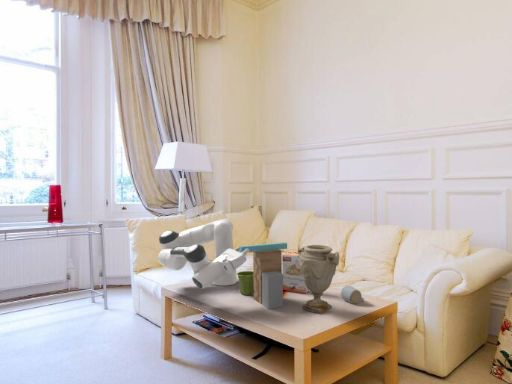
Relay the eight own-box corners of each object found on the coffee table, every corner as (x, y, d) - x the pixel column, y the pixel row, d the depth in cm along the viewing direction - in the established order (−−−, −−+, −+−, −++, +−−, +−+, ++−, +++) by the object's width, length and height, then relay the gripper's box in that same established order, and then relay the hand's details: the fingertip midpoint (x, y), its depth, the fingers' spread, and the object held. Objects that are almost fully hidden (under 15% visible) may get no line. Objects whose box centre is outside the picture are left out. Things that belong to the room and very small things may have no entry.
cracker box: (282, 291, 207) (281, 254, 207) (286, 288, 212) (286, 252, 212) (305, 294, 200) (305, 255, 200) (309, 291, 206) (309, 254, 205)
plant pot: (262, 293, 203) (262, 272, 203) (247, 298, 195) (247, 277, 194) (247, 289, 211) (247, 269, 211) (232, 293, 203) (232, 273, 202)
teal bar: (239, 252, 186) (239, 246, 186) (284, 247, 197) (284, 242, 197) (241, 253, 183) (241, 247, 183) (287, 248, 194) (287, 243, 194)
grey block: (262, 304, 183) (261, 272, 183) (276, 302, 187) (276, 271, 186) (268, 308, 177) (268, 275, 177) (283, 306, 180) (282, 274, 180)
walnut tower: (253, 299, 193) (253, 249, 192) (274, 295, 198) (273, 247, 197) (261, 303, 185) (260, 252, 184) (282, 300, 190) (281, 250, 189)
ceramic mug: (350, 305, 181) (350, 290, 180) (340, 300, 188) (340, 285, 188) (367, 302, 185) (368, 287, 185) (357, 298, 192) (357, 283, 192)
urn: (350, 310, 173) (350, 247, 173) (327, 320, 161) (326, 252, 160) (310, 299, 191) (309, 242, 190) (286, 307, 178) (285, 246, 178)
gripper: (219, 265, 191) (240, 250, 196) (233, 273, 173) (256, 256, 177) (213, 255, 190) (235, 240, 195) (227, 262, 171) (250, 246, 176)
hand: (245, 248), depth 186 cm, fingers open, 6 cm apart
